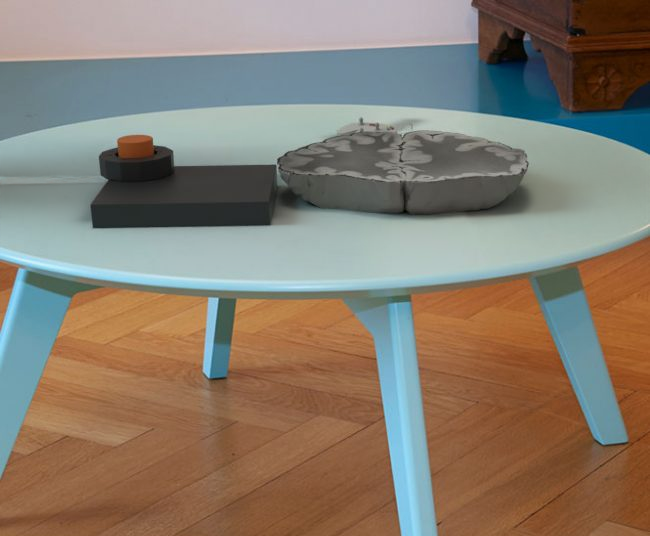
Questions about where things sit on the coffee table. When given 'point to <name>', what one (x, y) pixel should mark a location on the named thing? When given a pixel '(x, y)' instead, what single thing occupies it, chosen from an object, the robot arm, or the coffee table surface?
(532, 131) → the coffee table surface
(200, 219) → the scale
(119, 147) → the button
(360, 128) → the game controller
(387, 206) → the brain slice
